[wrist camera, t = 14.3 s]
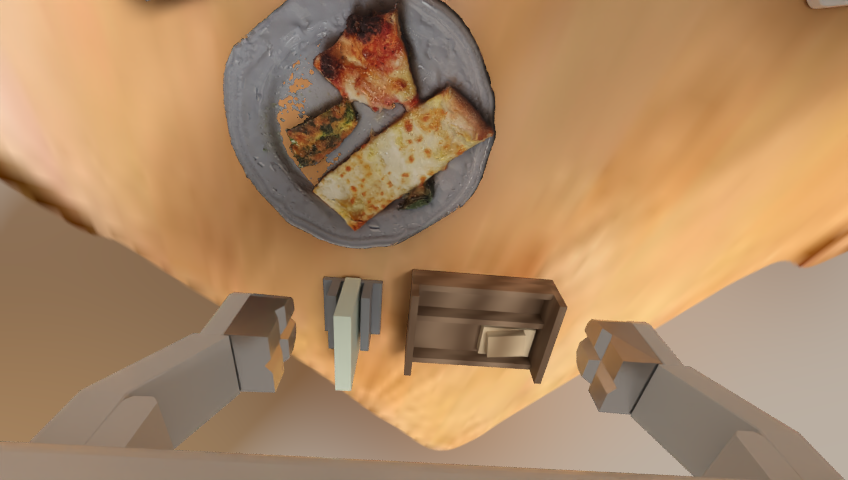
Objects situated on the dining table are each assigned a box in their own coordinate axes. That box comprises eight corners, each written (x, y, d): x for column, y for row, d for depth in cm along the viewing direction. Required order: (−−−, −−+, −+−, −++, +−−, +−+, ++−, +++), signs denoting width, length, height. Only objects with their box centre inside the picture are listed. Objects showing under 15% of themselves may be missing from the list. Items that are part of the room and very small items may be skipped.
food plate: (406, -94, 28) (403, -110, 25) (532, 158, 38) (541, 169, 35) (187, 92, 35) (164, 98, 32) (341, 266, 45) (334, 283, 41)
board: (359, 346, 49) (350, 390, 43) (346, 346, 49) (335, 390, 43) (361, 278, 44) (351, 317, 37) (345, 277, 44) (333, 315, 37)
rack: (552, 280, 45) (567, 307, 40) (529, 352, 50) (540, 383, 46) (412, 269, 44) (411, 295, 39) (405, 344, 49) (403, 375, 45)
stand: (382, 281, 45) (379, 299, 41) (380, 331, 48) (377, 351, 45) (324, 276, 44) (316, 294, 41) (326, 327, 48) (319, 347, 45)
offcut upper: (523, 329, 45) (525, 335, 44) (521, 350, 47) (523, 356, 46) (486, 331, 45) (488, 337, 44) (485, 351, 47) (487, 357, 46)
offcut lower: (533, 324, 46) (535, 330, 45) (525, 349, 48) (527, 356, 47) (482, 320, 46) (483, 327, 45) (476, 346, 48) (477, 353, 47)
